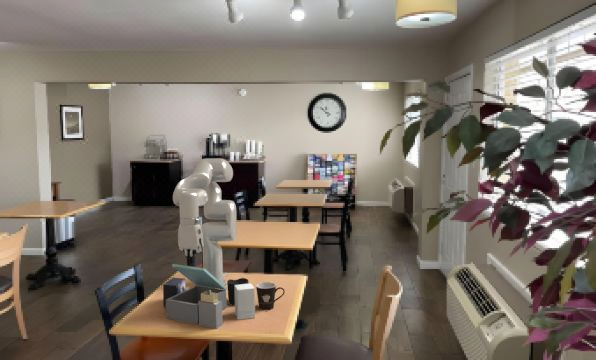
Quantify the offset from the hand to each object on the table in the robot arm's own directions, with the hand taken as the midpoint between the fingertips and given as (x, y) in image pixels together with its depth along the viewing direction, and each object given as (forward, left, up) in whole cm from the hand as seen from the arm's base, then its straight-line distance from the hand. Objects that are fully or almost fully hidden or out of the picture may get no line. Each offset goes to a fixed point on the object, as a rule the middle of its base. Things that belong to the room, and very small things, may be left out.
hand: (191, 264), depth 205 cm
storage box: (-3, +4, -22) cm, 22 cm away
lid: (-5, 0, -7) cm, 9 cm away
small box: (-8, -16, -22) cm, 28 cm away
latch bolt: (+5, +12, -12) cm, 18 cm away
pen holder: (-21, +9, -22) cm, 32 cm away
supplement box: (-9, +20, -22) cm, 31 cm away
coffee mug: (-21, +25, -22) cm, 39 cm away
